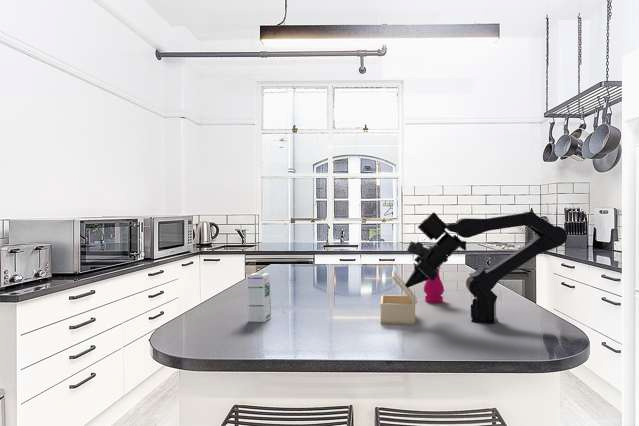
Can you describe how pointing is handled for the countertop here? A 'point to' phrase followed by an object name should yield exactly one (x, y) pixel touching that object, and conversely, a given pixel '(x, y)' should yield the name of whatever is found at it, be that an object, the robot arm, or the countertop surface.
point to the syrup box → (258, 297)
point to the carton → (397, 310)
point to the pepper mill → (434, 290)
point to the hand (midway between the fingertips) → (405, 286)
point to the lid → (403, 287)
